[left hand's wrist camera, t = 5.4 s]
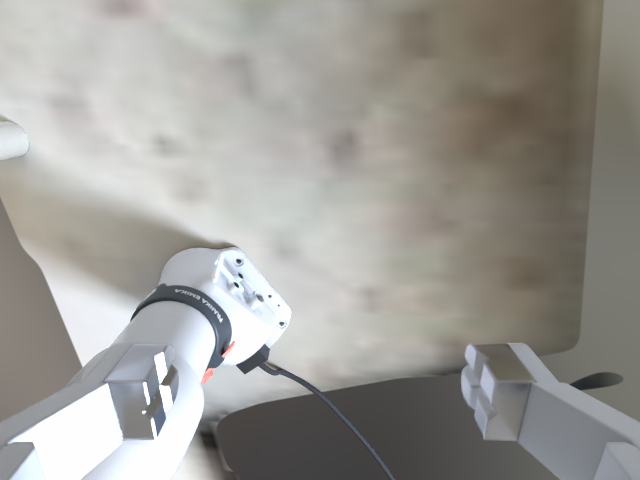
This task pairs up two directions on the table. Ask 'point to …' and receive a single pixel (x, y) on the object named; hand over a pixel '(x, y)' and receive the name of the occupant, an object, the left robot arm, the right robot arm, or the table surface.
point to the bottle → (12, 140)
